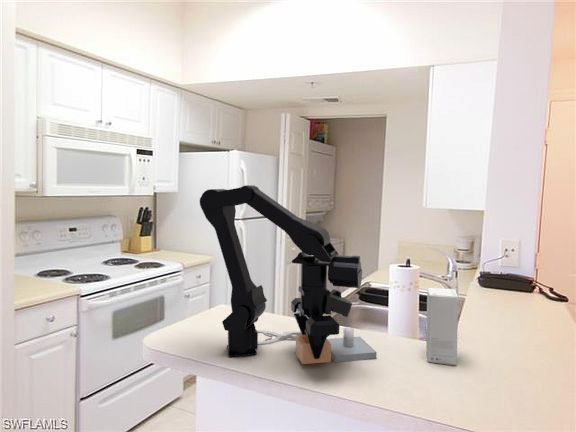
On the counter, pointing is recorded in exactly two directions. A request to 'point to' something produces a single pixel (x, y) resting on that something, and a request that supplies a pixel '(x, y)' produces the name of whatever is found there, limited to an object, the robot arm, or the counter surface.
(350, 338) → the grey peg base
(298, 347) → the collar
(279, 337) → the pliers
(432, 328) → the skincare box
